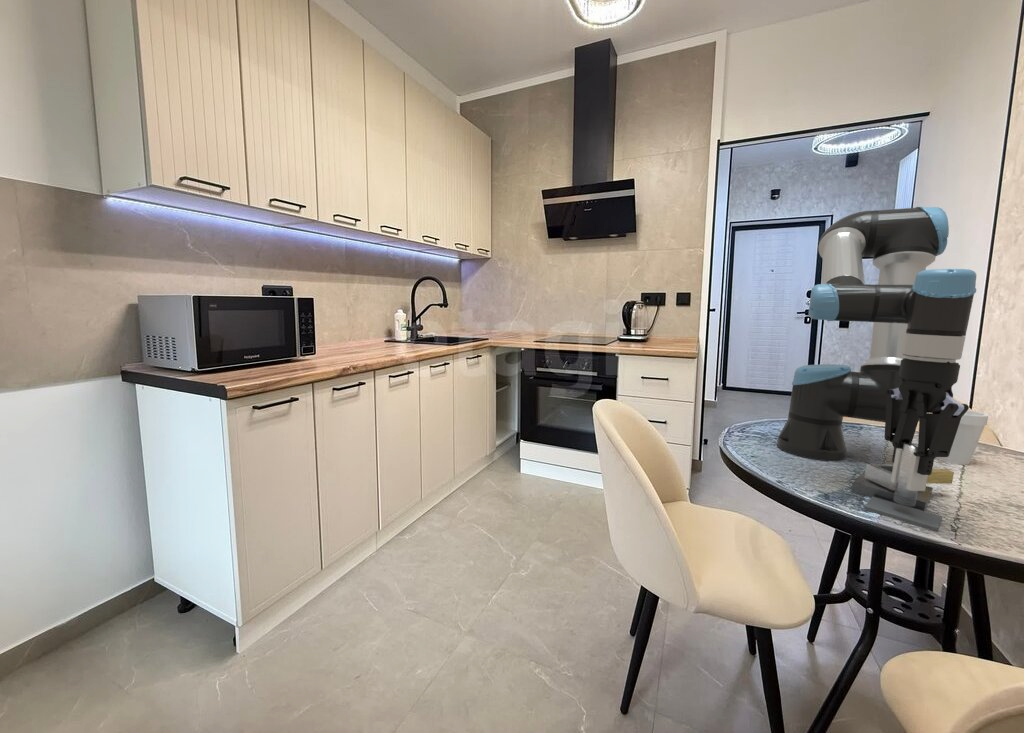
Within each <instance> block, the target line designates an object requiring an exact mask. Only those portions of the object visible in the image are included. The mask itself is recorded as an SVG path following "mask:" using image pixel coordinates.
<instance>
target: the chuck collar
mask: <svg viewBox="0 0 1024 733" xmlns="http://www.w3.org/2000/svg"><path fill="white" fill-rule="evenodd" d="M865 465H866V466H865V470H864V471H865V478H867V479H869V480H871V481H874V482H876V483H878V484H880V485H882V486H884V487H887V488H889V489H891V490H895V488H896V483H893V482H891V477H892V471H893V465H894V463H866V464H865ZM954 474H955V471H952V470H950V469H947V468H932V473H931V474H930V475H928V477H927V482H926V484H940V485H941V484H949V485H950V484H951V485H952V484H953V480H954Z"/></svg>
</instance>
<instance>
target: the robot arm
mask: <svg viewBox="0 0 1024 733" xmlns="http://www.w3.org/2000/svg"><path fill="white" fill-rule="evenodd" d="M943 209H944V208H941V207H939V206H925V207H923V206H916V207H907V208H906V207H905V208H893V209H879V210H863V211H859V212H854V213H852V214H848V215H846V216H845V217H842V218H841V219H839V220H837V221H835V222H834V223H833V224H831V225H830V226H829V227H828V228H827V229H826V230H825V231H823V233H822V235H821V236H820V238H819V242H818V248H817V250H818V254H819V256H820V257H821V259H822V267H821V268H822V269H821V283H819V284H815V285H814V286H813V287H812V288H811V291H810V292H811V293H810V297H809V298H810V299H809V306H808V307H809V308H808V317H810V318H811V319H812V320H822V321H827V322H834V321H835V322H836V321H837V322H861V323H872V324H873V326H872V334H871V340H870V341H871V342H870V343H871V344H870V350H869V351H870V352H869V358H868V360H867V361H866V362H863V364H860V368H859V369H860V370H859V371H852V368H851V366H850V365H848V364H847V365H846V364H832V363H831V364H830V363H828V364H827V363H826V364H807V365H802V366H801V365H800V366H799V367H797V368H796V369H795V371H794V374H793V379H792V380H793V381H792V382H791V385H792V390H791V395H790V402H789V409H788V417H787V420H786V422H785V424H783V427H782V429H781V431H780V432H779V435H778V436H777V442H776V446H777V448H779V449H780V450H782V451H784V452H787V453H790V454H792V455H795V456H799V457H803V458H807V459H811V460H812V459H813V460H819V461H826V462H827V461H830V462H833V461H834V462H836V461H843V460H845V459H847V458H846V456H847V452H848V451H847V445H846V441H845V436H844V432H843V429H842V425H843V419H844V417H845V418H850V419H858V420H865V421H873V422H879V423H885V424H884V440H885V441H887V442H890V443H891V444H892V446H893V452H892V457H891V462H892V463H891V464H894V465H893V471H892V477H891V482H893V483H897V477H898V472H899V466H900V461H901V456H902V450H903V445H904V443H913V441H914V437H915V433H916V429H917V427H918V438H917V439H918V440H917V441H918V442H917V444H918V452H913V453H914V454H912V459H911V465H910V470H909V476H908V481H907V487H906V489H908V490H910V491H925V488H926V486H927V483H926V482H927V477H928V475H930V474H931V473H932V469H933V468H934V463H935V459H936V457H948V456H949V454H950V451H951V448H952V445H953V442H954V439H955V436H956V433H957V430H958V426H959V423H960V420H961V417H962V416H963V415H964V414H965V413H966V412H967V410H970V409H969V405H968V404H967V403H960V402H959V401H957V400H956V399H955V398H954V393H953V390H952V387H953V386H954V385H955V384H957V383H958V380H959V374H960V369H961V365H960V364H959V362H956V361H958V360H962V358H963V357H962V356H963V351H964V346H965V341H966V336H967V332H968V331H967V330H968V326H969V321H970V316H971V311H972V306H973V301H974V295H975V294H976V293H977V288H976V285H977V283H976V281H977V272H975V271H974V270H972V269H970V268H968V269H967V268H936V269H935V268H934V269H933V268H932V269H927V267H929V266H931V265H932V264H933V263H934V262H936V260H937V259H936V257H938V256H940V255H942V254H943V253H944V252H945V251H946V248H947V246H948V238H949V233H950V232H949V231H950V229H949V227H950V226H949V225H950V224H949V218H948V215H947V213H946V211H945V210H943ZM863 258H873V259H872V265H873V266H874V267H875V268H876V269H878V270H879V274H878V283H877V284H866V283H865V276H864V275H865V274H864V264H863ZM918 423H919V424H918Z"/></svg>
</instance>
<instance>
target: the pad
mask: <svg viewBox="0 0 1024 733" xmlns="http://www.w3.org/2000/svg"><path fill="white" fill-rule="evenodd" d="M863 509H864V510H865V511H869V512H872V513H875V514H878V515H882V516H885V517H887V518H891V519H894V520H898V521H901V522H905V523H908V524H911V525H915V526H918V527H921V528H925V529H926V530H927V529H928V530H931V531H933V532H934V531H935V532H939V529H940V525H941V524H942V520H943V518H944V517H943V516H942V515H939V514H935V513H932V512H928V511H926V510H925V511H922V510H918V509H915V508H911V507H908V506H904V505H901V504H897V503H894V502H890V501H887V500H883V499H880V498H876V497H873V496H872V497H870V498H869V500H868V501H867V502H866V504H864V506H863Z"/></svg>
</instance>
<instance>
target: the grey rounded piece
mask: <svg viewBox="0 0 1024 733" xmlns="http://www.w3.org/2000/svg"><path fill="white" fill-rule="evenodd" d="M988 420H989V415H988V414H987V413H984V412H979V411H976V410H971V409H968V410H967V412H966V413H965V414H964V415H963V416H962V417H961V420H960V423H959V426H958V430H957V433H956V436H955V439H954V442H953V445H952V448H951V451H950V454H949V456H948V457H936V458H935V459H937V460H939V461H941V462H945V463H948V464H949V463H950V464H954V465H955V464H956V465H959V466H960V465H961V466H962V465H964V466H966V465H969V464H970V462H971V461H972V459H973V456H974V453H975V451H976V449H977V446H978V443H979V441H980V438H981V436H982V435H983V434H982V433H984V432H983V431H984V430H985V427H986V426H987V425H988Z"/></svg>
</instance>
